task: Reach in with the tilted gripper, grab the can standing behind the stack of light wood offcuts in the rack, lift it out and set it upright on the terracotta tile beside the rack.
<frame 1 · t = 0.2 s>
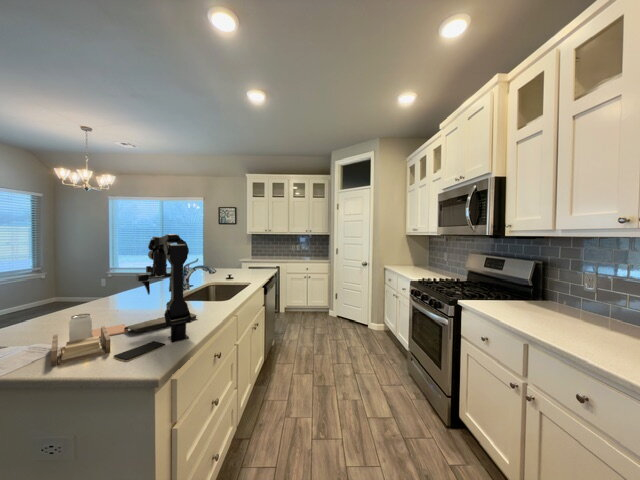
hand: (159, 293, 130), 15 cm above the counter, tool pointing down, fingers open, 9 cm apart
rack: (81, 350, 97), on the counter
stone slab: (163, 324, 127), on the counter, touching tile
smartphone: (140, 352, 98), on the counter
tile: (109, 331, 116), on the counter
can: (80, 347, 101), on the counter
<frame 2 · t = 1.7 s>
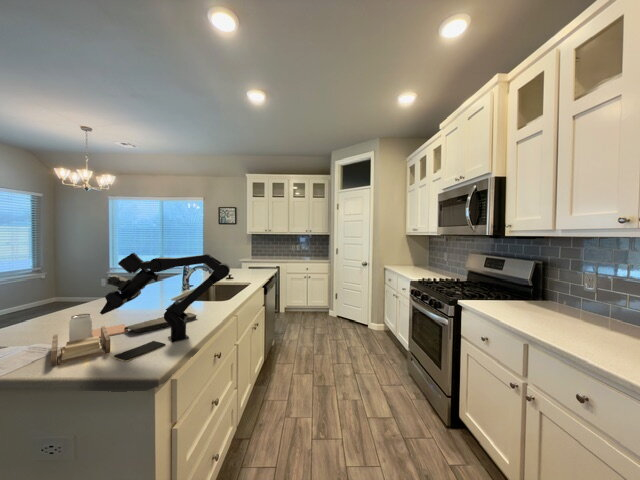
hand: (107, 310, 103), 13 cm above the counter, tool tilted 45°, fingers open, 9 cm apart
nothing on the counter moved.
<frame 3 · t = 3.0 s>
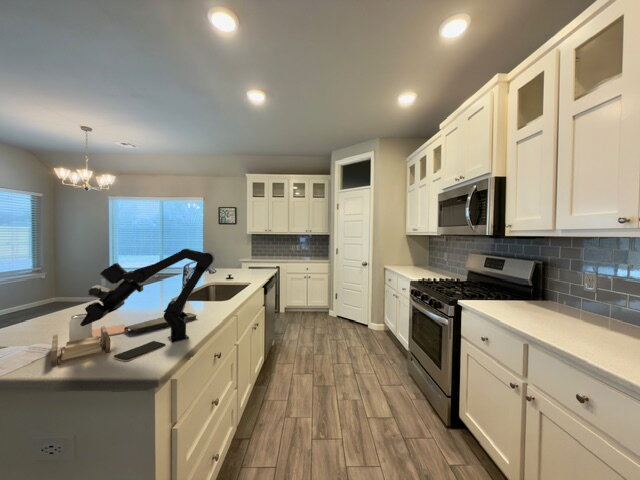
hand: (88, 321, 101), 10 cm above the counter, tool tilted 45°, fingers open, 9 cm apart
nothing on the counter moved.
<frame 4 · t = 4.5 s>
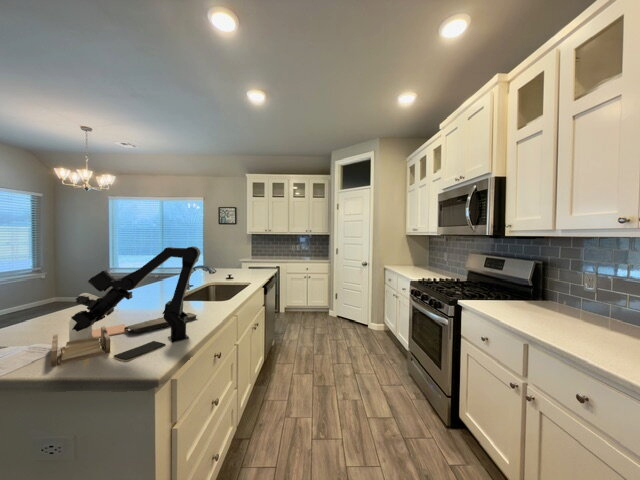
hand: (76, 330, 100), 7 cm above the counter, tool tilted 45°, fingers closed on can, 5 cm apart
can: (80, 347, 101), on the counter, touching gripper
everything else where it was.
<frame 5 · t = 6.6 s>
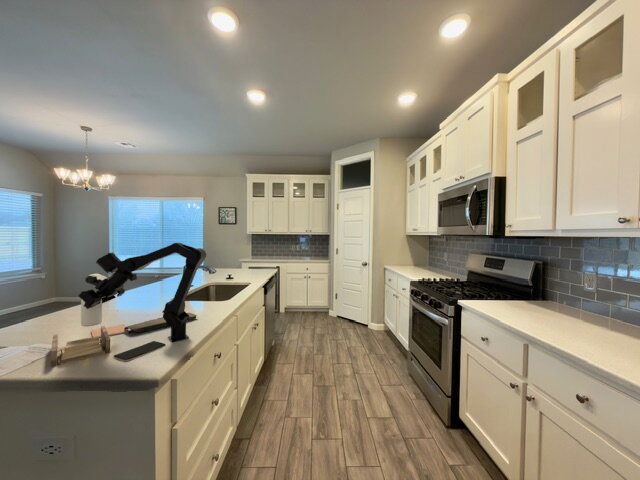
hand: (88, 308, 107), 13 cm above the counter, tool tilted 45°, fingers closed on can, 5 cm apart
can: (91, 324, 107), point 6 cm above the counter, touching gripper
everything else where it was.
when the fingers open (8 cm above the counter, at t = 8.8 s): can stays where it is, resting on tile.
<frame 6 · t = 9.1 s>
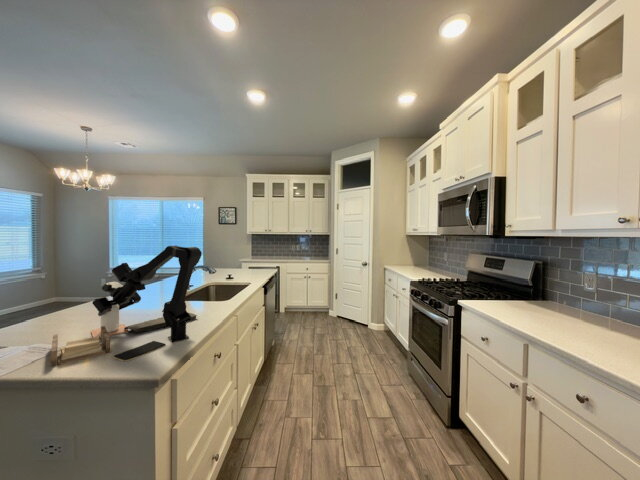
hand: (107, 313, 117), 8 cm above the counter, tool tilted 45°, fingers open, 7 cm apart
can: (109, 331, 116), resting on tile
everything else where it was.
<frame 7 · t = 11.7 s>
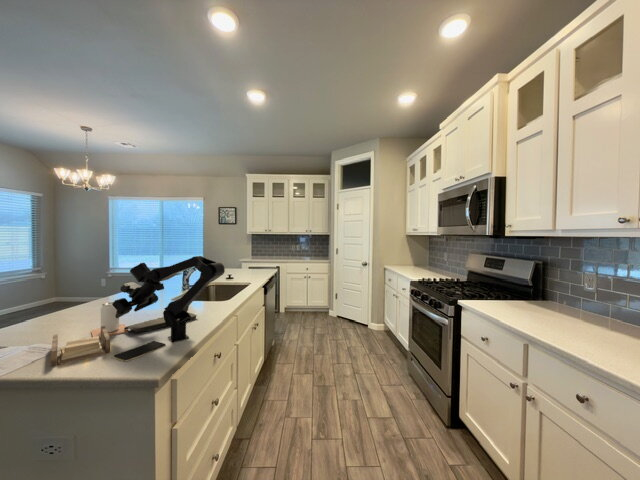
hand: (125, 314, 115), 8 cm above the counter, tool tilted 45°, fingers open, 9 cm apart
nothing on the counter moved.
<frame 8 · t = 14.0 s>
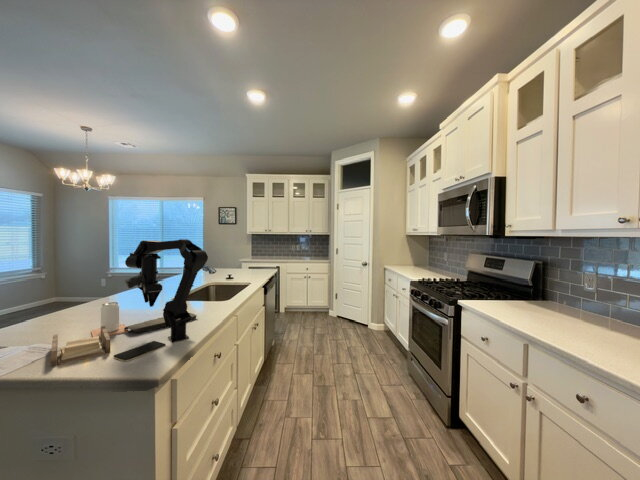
hand: (148, 304, 115), 13 cm above the counter, tool pointing down, fingers open, 9 cm apart
nothing on the counter moved.
at the end: can 0.3 cm off-centre on the tile, point 0.4 cm above the tile's base; can tilted 0°; the gripper is holding nothing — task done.
